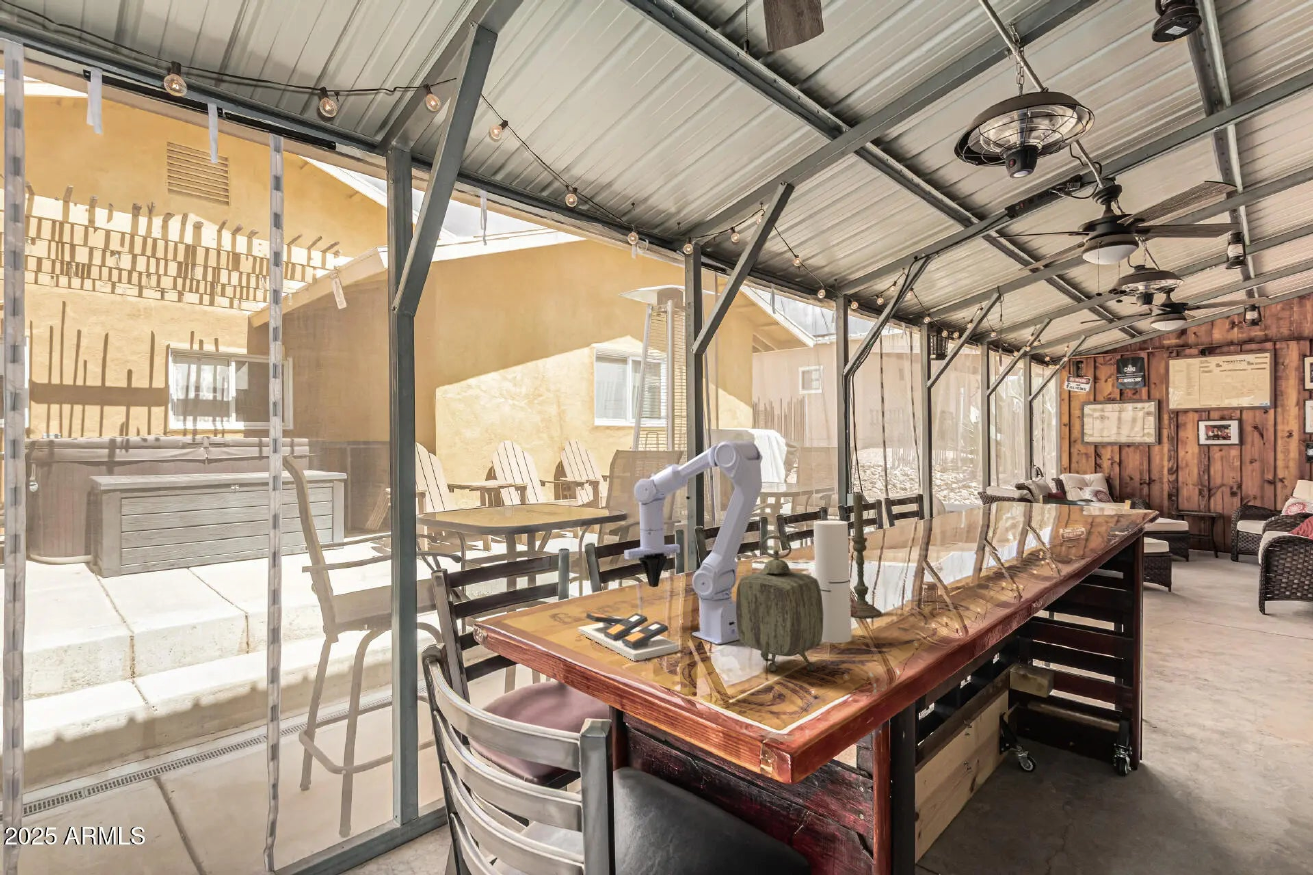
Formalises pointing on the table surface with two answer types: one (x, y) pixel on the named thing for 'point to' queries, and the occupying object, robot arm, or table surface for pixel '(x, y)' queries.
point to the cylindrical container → (833, 579)
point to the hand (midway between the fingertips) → (653, 586)
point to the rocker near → (644, 634)
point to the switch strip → (640, 652)
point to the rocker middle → (625, 626)
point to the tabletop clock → (779, 610)
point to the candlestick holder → (860, 565)
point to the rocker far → (605, 618)
